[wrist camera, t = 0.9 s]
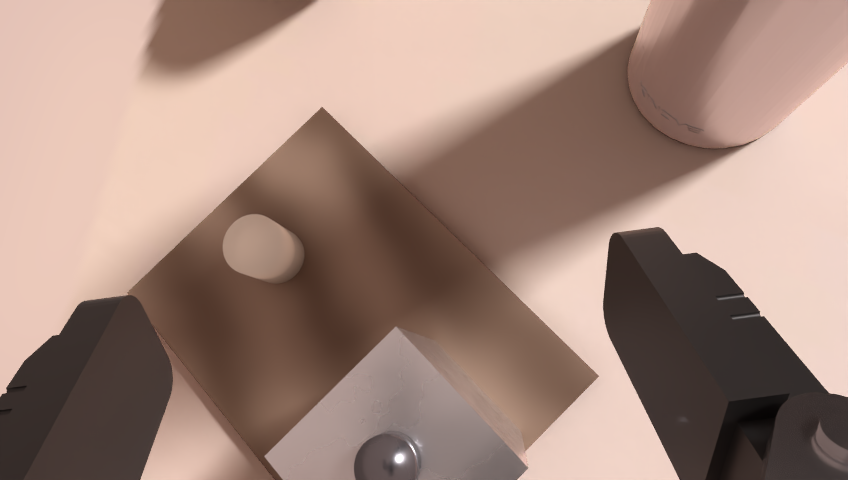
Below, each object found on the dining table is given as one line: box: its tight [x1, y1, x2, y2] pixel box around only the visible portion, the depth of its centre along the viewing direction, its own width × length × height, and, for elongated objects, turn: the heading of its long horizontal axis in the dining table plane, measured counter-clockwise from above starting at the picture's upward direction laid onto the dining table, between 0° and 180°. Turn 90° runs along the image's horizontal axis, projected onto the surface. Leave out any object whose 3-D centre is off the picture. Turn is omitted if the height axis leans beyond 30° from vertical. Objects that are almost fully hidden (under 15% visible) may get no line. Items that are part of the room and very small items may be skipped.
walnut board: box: [128, 107, 599, 480], centre depth 32 cm, size 16×22×1 cm
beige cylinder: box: [223, 214, 304, 284], centre depth 32 cm, size 3×3×4 cm
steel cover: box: [264, 327, 528, 480], centre depth 24 cm, size 6×6×12 cm
